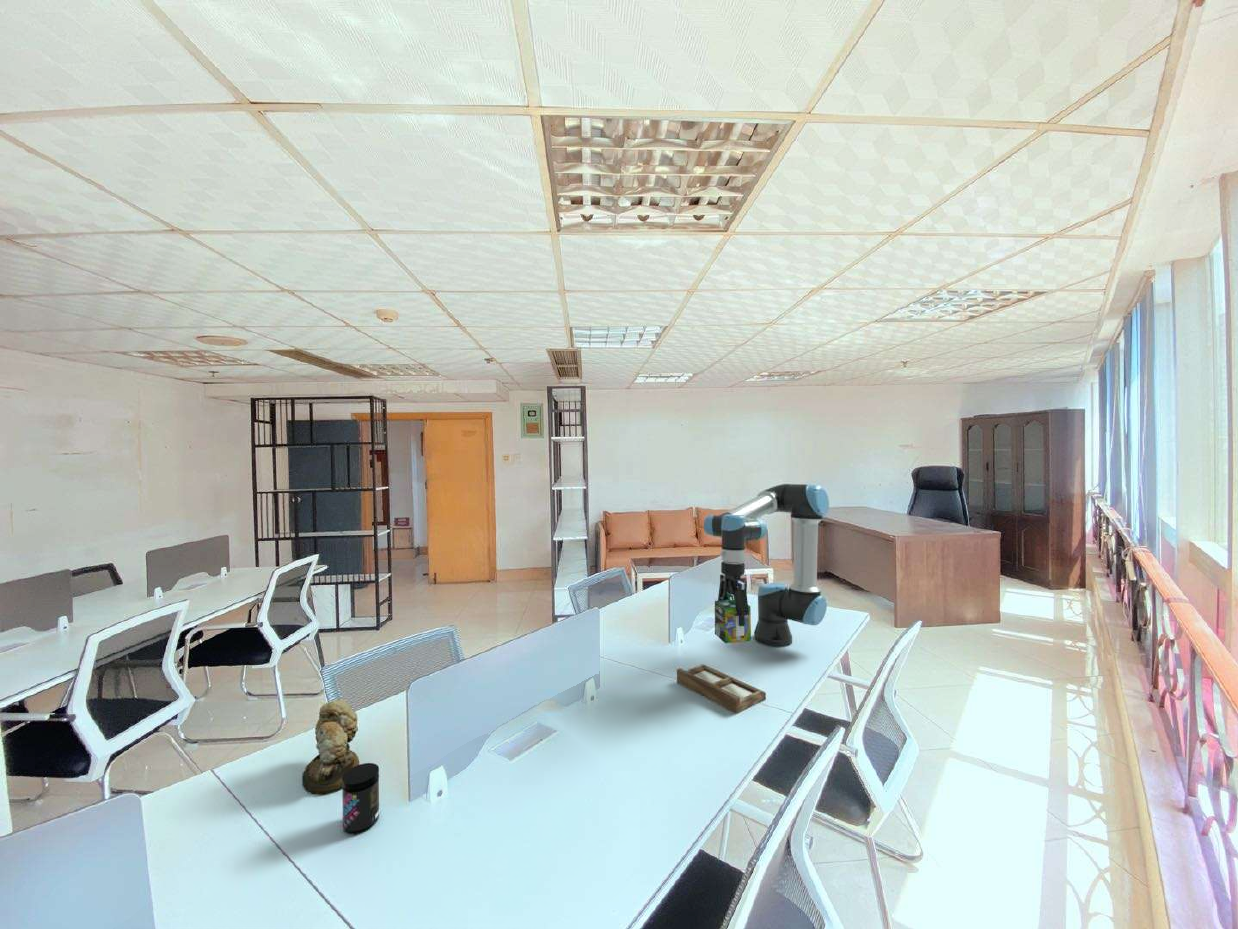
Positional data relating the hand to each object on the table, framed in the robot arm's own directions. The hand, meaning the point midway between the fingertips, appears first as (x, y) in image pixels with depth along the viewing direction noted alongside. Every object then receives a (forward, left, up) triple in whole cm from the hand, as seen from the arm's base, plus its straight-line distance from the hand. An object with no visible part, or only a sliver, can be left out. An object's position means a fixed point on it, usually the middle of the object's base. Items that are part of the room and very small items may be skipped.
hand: (732, 630), depth 157 cm
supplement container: (+107, -8, -19) cm, 109 cm away
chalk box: (0, 0, -3) cm, 3 cm away
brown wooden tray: (+5, -1, -19) cm, 19 cm away
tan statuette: (+110, -31, -19) cm, 116 cm away
